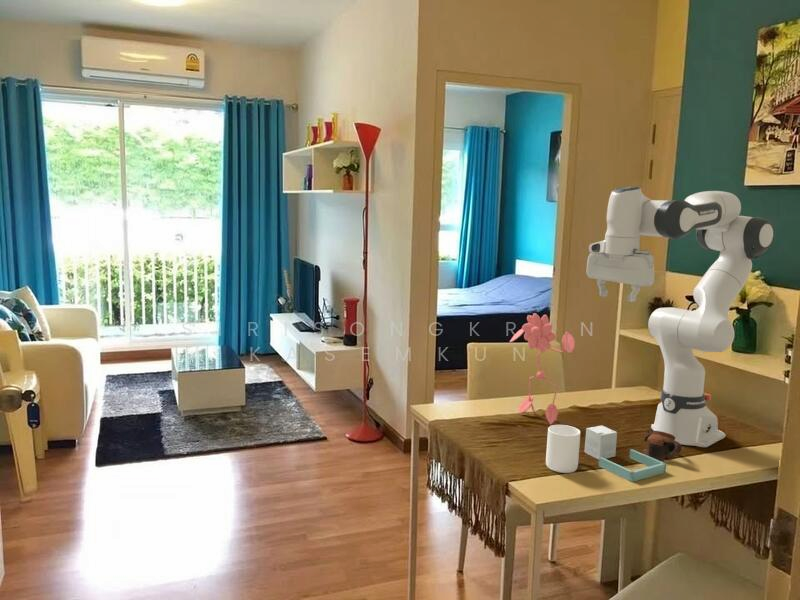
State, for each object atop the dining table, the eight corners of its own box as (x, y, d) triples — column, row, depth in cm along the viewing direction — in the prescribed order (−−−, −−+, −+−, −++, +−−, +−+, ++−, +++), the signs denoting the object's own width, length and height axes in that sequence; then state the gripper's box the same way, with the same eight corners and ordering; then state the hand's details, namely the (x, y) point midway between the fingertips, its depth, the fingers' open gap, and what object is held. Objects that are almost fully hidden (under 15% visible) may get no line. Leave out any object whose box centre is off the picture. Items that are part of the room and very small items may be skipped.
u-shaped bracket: (631, 457, 179) (632, 449, 179) (665, 472, 170) (666, 463, 170) (598, 466, 173) (599, 457, 172) (632, 481, 163) (632, 472, 163)
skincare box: (599, 449, 185) (601, 424, 184) (615, 457, 180) (618, 431, 178) (583, 452, 182) (585, 427, 181) (599, 460, 177) (601, 434, 176)
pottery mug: (632, 455, 182) (638, 427, 185) (653, 465, 186) (659, 438, 189) (669, 460, 172) (674, 430, 174) (691, 470, 176) (696, 441, 178)
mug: (562, 454, 180) (565, 419, 178) (589, 463, 174) (593, 427, 173) (539, 466, 171) (542, 429, 169) (567, 476, 165) (570, 438, 164)
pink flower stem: (516, 405, 222) (521, 305, 216) (579, 427, 202) (587, 318, 196) (485, 414, 212) (489, 309, 206) (548, 438, 193) (555, 323, 187)
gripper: (662, 250, 166) (657, 304, 168) (600, 244, 183) (596, 293, 185) (646, 251, 163) (641, 305, 165) (584, 244, 180) (580, 294, 182)
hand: (617, 298), depth 175 cm, fingers open, 8 cm apart
